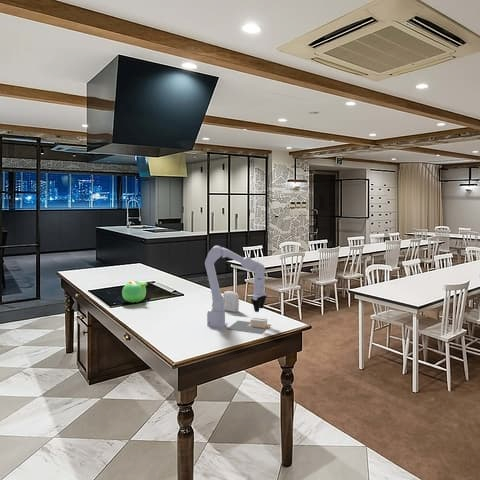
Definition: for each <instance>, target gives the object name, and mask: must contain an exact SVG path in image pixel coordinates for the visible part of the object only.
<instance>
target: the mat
mask: <svg viewBox="0 0 480 480" xmlns="http://www.w3.org/2000/svg"><path fill="white" fill-rule="evenodd" d="M271 325H272V324H268V323H267V325H266V327H257V326H251V321H244V320H236V322H234V323H233V324H231V325H230V326H229V327H227V328H226V330H229V331H235V332H243V333H249V334H257V335H263V333H265V332H266V331H267V330H268V329H269V328H270V326H271ZM268 326H269V327H268Z"/></svg>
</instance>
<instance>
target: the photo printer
mask: <svg viewBox="0 0 480 480" xmlns="http://www.w3.org/2000/svg"><path fill="white" fill-rule="evenodd" d="M222 297H223V298H224V300H225V303H224V308H225V311H227V312H232V313H238V312H239V308H240V307H239V305H240V302H239V300H240V299H239V298H240V297H239V293H237V292H235V291H232V290H228V291H224V292H223V294H222Z"/></svg>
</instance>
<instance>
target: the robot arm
mask: <svg viewBox="0 0 480 480" xmlns="http://www.w3.org/2000/svg"><path fill="white" fill-rule="evenodd" d="M220 258H222V259H224V258H229V259H230V260H234V261H236V262H238V263H239V264H241V267H242V268H245V269H247V270H248V271H250V272H254V278H253V296H252V298H250V301H251V303H252V306H253V310H254V313H259V311H260V309H264V306H265V303H266V300H267V297H268V295H267V293H266V290H265V283H266V282H265V279H266V277H265V273H266V268H265V265H264V264H262V263H261V262H259V261H258V260H257V261H256V260H253V259H252V258H251V256H249V257H248V256H245V257H243V256H241V255H239V254H238V253H236V252H233V251H232V250H230V249H229V248H226V247H223V246H220V245H219V244H218V245H214V246H213V247H212V248H210V250H209V251H208V253H207V256H206V258H205V261H204V266H205V270H206V274H207V280H208V283H209V287H210V293H211V299H212V304H211V308H209V309H208V310H207V313H206V315H207V316H206V318H207V319H206V321H207V322H206V327H214V328H220V329H222V328H224V327H225V326H227V325H228V323H227V322H226V310H225V308H224V303H225V300H224V298H223V294H222V292H221V289H220V284H219V280H218V277H217V272H216V267H215V263H216V262H217V260H218V259H220Z"/></svg>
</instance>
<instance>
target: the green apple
mask: <svg viewBox="0 0 480 480" xmlns="http://www.w3.org/2000/svg"><path fill="white" fill-rule="evenodd" d="M146 286H148V282H147V281H144V282H140V281H137V280H136V281H135V280H129V281H128V282H127V283H126V284H125V285H124V286H123V288H122V290H121V295H122V298H123V299H124V300H125V301H126V302H128V303H133V304H135V302H136V303H139V302H142V301H143V300H144V299H145V297H146V295H147V288H146Z"/></svg>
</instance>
